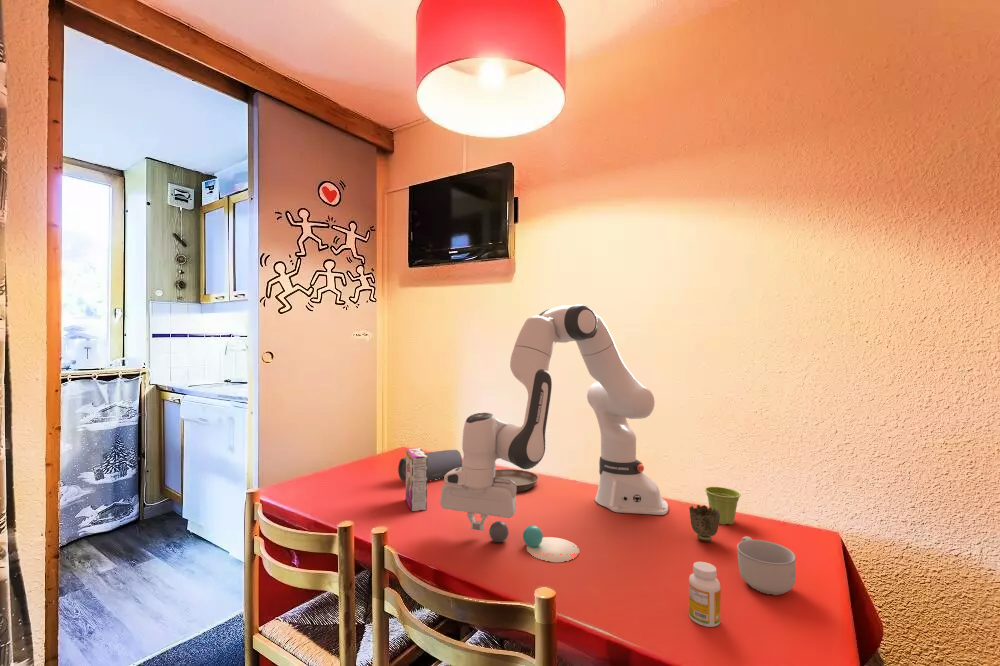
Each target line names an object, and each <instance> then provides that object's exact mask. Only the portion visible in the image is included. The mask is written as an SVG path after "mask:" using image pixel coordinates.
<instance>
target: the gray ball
mask: <svg viewBox="0 0 1000 666" xmlns="http://www.w3.org/2000/svg"><path fill="white" fill-rule="evenodd" d="M488 532H489V533H488V535H489V537H490V539H491V540H492V541H493V542H495V543H503V542H505V541H506V540H507V539H508V537H509V534H510V532H509V528H508V525H507V524H506V523H505V522H503V521H500V520H498V521H497V520H496V521H494V522H493V523H492V524H491V525H490V527H489V529H488Z"/></svg>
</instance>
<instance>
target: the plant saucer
mask: <svg viewBox="0 0 1000 666" xmlns="http://www.w3.org/2000/svg"><path fill="white" fill-rule="evenodd" d="M495 478H500V479H505V480H506V479H509V480H511V481H512V482H514V483H515V485H516V487H517V493H518V492H525V491H528V490H530V489H531V488H532V487H534V486H535V485H536V484H537V482H538V481H539V476H538V475H537V474H536V473H534V472H531V471H527V470H524V469H512V468H511V469H510V468H508V469H507V468H506V469H503V468H502V469H495ZM511 484H512V483H511Z"/></svg>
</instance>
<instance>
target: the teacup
mask: <svg viewBox="0 0 1000 666" xmlns="http://www.w3.org/2000/svg"><path fill="white" fill-rule="evenodd" d="M736 551H737V564H738V571H739V574H740V576H741V578H742V579H743V580H744V582H745V583H746V584H748V585H749V586H750V587H751V588H752V589H754V590H755V589H756V591H758V592H759V591H760V593H762V592H763V593H762V594H765V593H766V595H769V594H773V595H772V596H779V595H780V594H781V595H783V594H785V593H787V592H790V591H791V590H793V588H794V587H795V584H796V577H797V576H796V569H797V568H796V561H797V557H796V554H795V553H794V552H793V550H791V549H790V548H788V547H786V546H784V545H782V544H779V543H776V542H773V541H772V542H771V541H768V540H763V539H753V538H752V537H751V536H742V538H741V541H739V542H738V543H737V545H736Z"/></svg>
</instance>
